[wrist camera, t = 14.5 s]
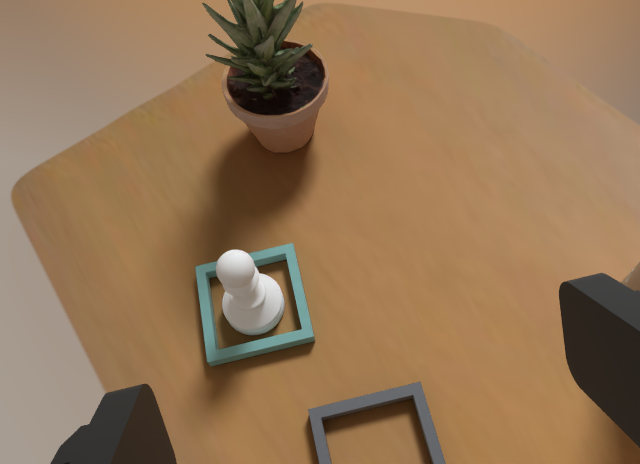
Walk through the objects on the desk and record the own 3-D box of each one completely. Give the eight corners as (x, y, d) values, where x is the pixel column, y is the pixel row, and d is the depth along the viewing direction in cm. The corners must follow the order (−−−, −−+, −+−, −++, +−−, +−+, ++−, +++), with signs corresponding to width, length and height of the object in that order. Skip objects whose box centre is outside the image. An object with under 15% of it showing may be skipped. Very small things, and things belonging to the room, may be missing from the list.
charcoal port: (419, 385, 44) (420, 381, 43) (456, 507, 40) (458, 505, 39) (310, 412, 44) (308, 409, 43) (335, 537, 40) (334, 537, 38)
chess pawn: (294, 319, 47) (277, 274, 40) (238, 346, 47) (209, 305, 39) (271, 270, 50) (251, 219, 42) (217, 295, 49) (186, 247, 41)
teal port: (294, 249, 51) (292, 242, 50) (315, 340, 46) (313, 336, 45) (199, 272, 50) (195, 266, 49) (211, 366, 46) (207, 362, 45)
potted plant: (353, 123, 57) (337, -136, 35) (284, 184, 54) (220, -56, 32) (284, 75, 61) (231, -185, 39) (216, 129, 58) (119, -118, 36)
